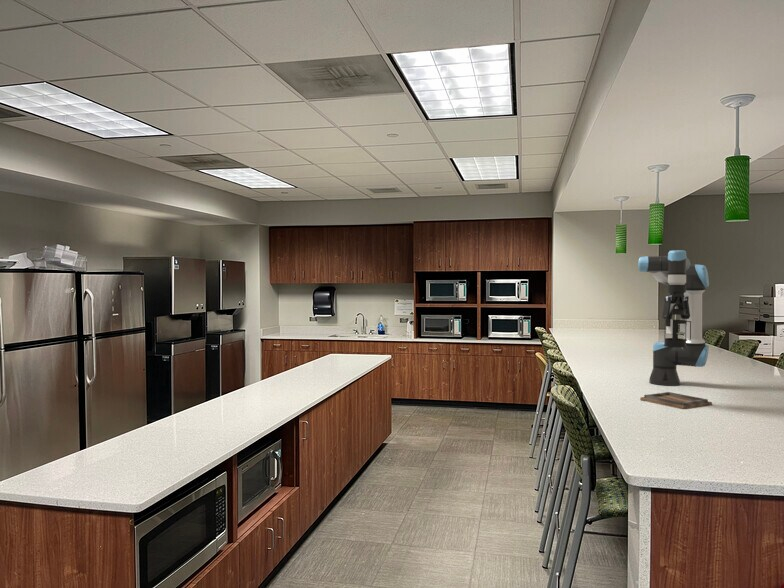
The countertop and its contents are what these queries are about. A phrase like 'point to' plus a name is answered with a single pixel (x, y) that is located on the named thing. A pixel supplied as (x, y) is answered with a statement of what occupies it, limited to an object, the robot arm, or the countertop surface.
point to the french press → (675, 340)
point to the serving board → (676, 400)
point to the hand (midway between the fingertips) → (676, 333)
